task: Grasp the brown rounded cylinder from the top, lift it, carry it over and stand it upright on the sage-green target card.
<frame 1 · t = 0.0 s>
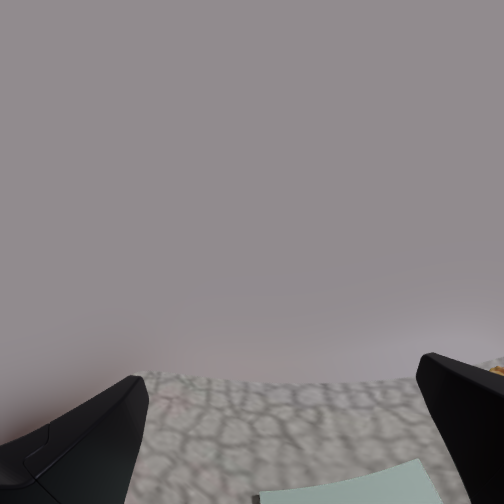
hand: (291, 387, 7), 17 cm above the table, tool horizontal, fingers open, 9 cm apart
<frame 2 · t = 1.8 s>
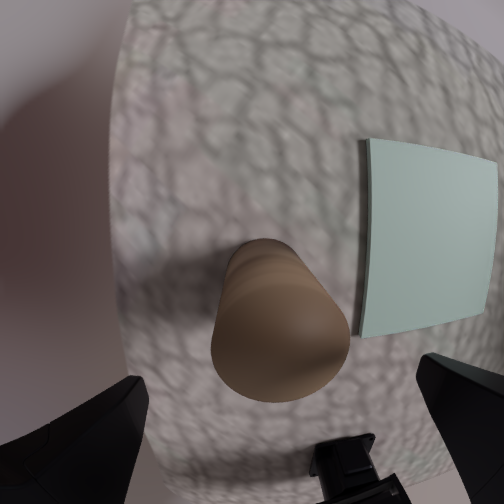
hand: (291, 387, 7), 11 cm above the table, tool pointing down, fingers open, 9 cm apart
brown rounded cylinder: (265, 276, 18), on the table
target card: (442, 240, 18), on the table
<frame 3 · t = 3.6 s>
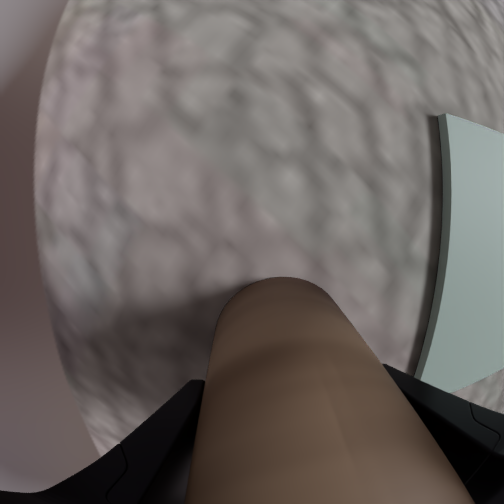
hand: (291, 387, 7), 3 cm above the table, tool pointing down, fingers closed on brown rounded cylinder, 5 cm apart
brown rounded cylinder: (280, 338, 10), on the table, touching gripper
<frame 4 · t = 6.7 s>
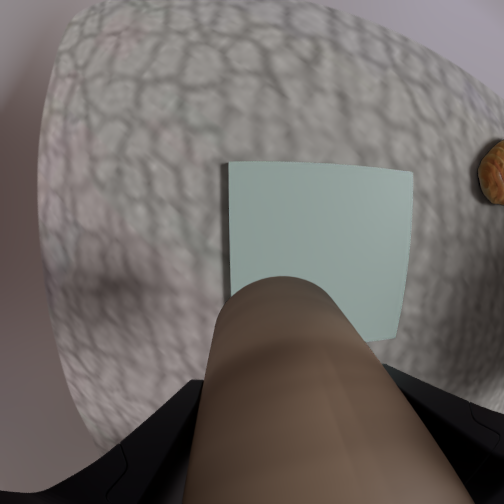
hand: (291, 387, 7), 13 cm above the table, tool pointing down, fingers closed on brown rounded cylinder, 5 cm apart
brown rounded cylinder: (279, 337, 10), point 10 cm above the table, touching gripper
target card: (326, 260, 20), on the table
pastry: (500, 174, 19), on the table
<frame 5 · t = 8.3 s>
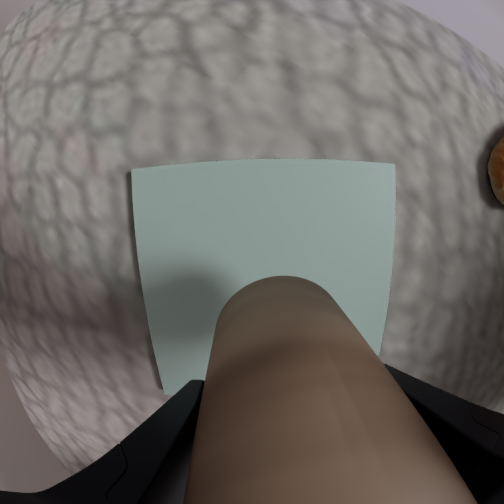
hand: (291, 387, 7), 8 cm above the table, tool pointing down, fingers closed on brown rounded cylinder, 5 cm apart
brown rounded cylinder: (280, 337, 10), point 5 cm above the table, touching gripper
target card: (270, 292, 15), on the table
when the fingers open (5 cm above the table, at t = 9.8 s): brown rounded cylinder drops 1 cm, resting on target card.
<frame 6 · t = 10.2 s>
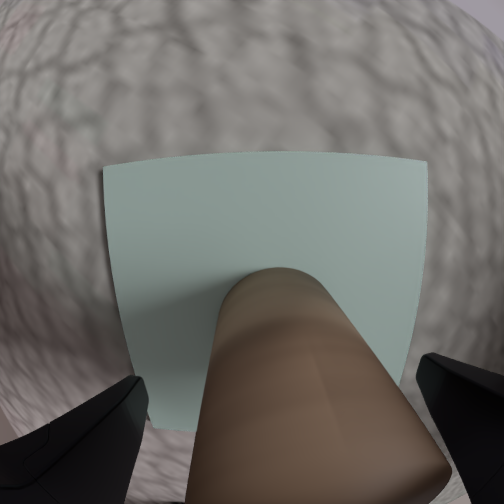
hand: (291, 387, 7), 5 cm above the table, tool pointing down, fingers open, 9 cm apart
brown rounded cylinder: (277, 324, 12), point 1 cm above the table, touching target card
target card: (276, 318, 12), on the table
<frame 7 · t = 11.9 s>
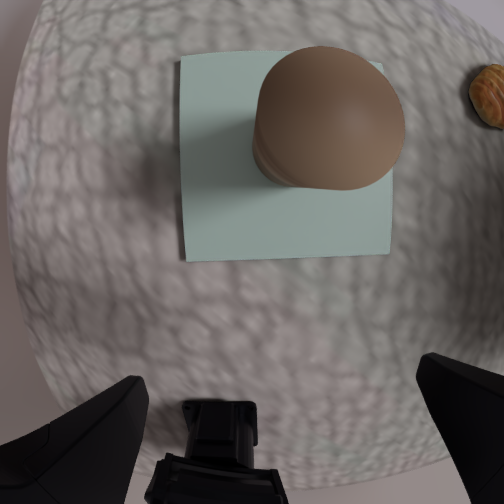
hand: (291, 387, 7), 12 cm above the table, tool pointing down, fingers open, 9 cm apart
brown rounded cylinder: (292, 147, 16), point 1 cm above the table, touching target card
target card: (291, 149, 17), on the table
pastry: (494, 101, 16), on the table
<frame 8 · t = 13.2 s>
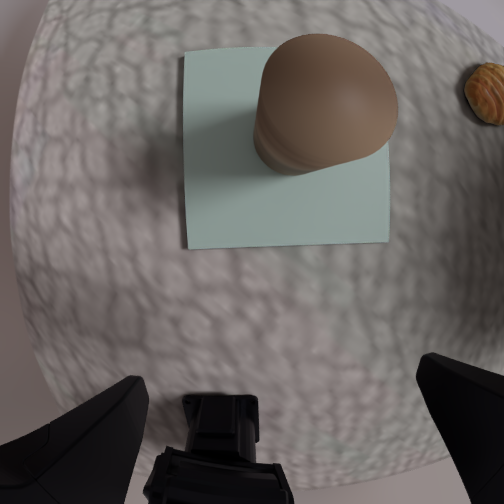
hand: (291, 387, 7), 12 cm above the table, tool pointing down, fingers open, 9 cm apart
brown rounded cylinder: (292, 137, 17), point 1 cm above the table, touching target card
target card: (290, 139, 17), on the table
pastry: (489, 98, 17), on the table
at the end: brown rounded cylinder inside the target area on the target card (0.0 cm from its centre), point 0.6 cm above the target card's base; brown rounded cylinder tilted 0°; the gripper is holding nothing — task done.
